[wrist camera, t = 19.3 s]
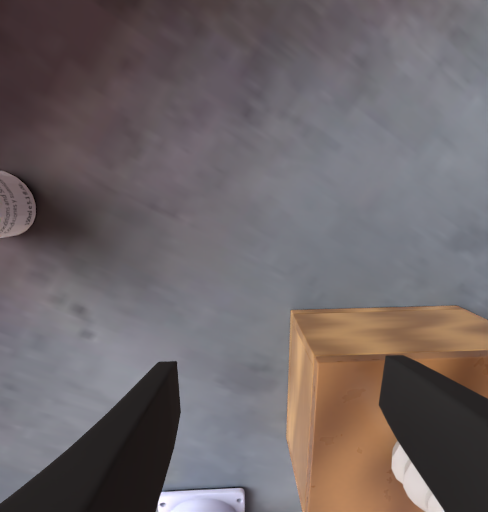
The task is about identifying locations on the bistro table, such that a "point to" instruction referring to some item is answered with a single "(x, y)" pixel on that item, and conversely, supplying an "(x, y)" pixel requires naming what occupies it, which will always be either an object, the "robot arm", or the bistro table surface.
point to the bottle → (15, 206)
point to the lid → (366, 429)
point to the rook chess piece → (413, 481)
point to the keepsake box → (364, 352)
